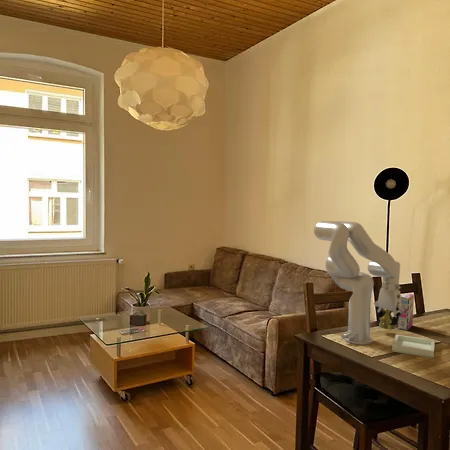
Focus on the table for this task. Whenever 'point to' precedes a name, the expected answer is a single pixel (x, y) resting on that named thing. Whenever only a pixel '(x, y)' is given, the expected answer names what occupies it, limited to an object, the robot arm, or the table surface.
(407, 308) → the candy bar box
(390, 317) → the brass door knob
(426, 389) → the table surface
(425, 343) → the tray
